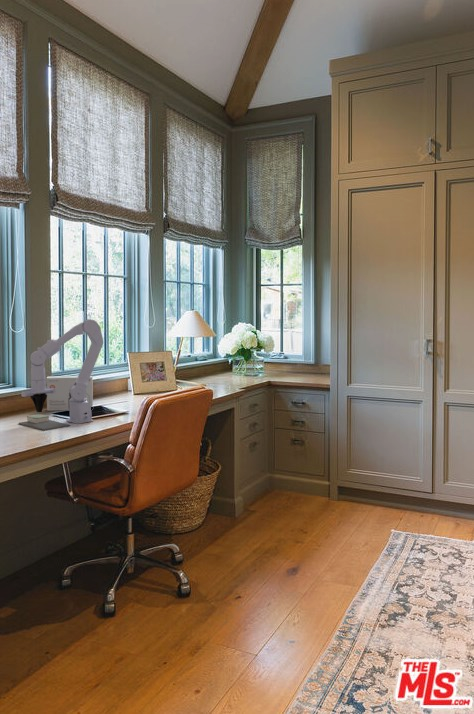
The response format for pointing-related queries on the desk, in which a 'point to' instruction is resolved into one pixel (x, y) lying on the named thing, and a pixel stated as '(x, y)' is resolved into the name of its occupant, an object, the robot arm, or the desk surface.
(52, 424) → the mat
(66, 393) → the skincare box
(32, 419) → the tile
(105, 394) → the desk surface
